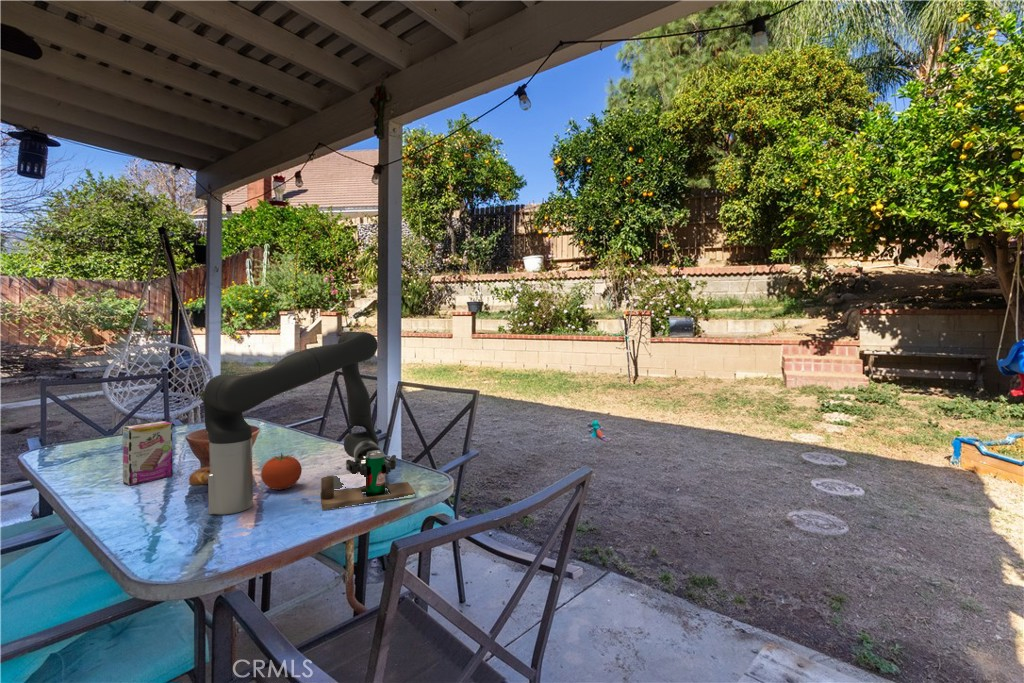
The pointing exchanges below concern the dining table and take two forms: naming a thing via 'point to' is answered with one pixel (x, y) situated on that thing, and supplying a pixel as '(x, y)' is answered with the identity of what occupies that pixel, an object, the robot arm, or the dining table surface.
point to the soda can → (375, 473)
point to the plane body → (357, 494)
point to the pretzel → (200, 476)
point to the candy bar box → (147, 452)
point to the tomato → (281, 472)
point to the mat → (337, 482)
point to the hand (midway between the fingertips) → (376, 471)
